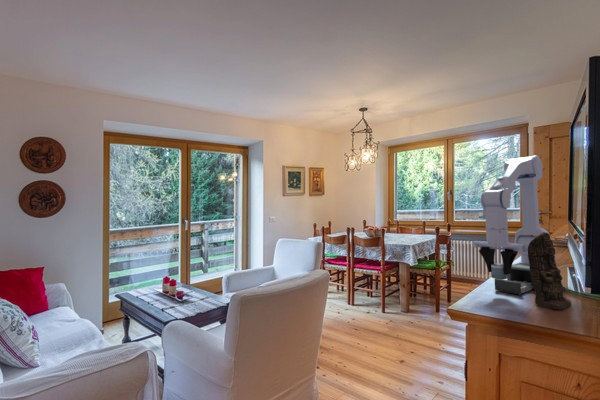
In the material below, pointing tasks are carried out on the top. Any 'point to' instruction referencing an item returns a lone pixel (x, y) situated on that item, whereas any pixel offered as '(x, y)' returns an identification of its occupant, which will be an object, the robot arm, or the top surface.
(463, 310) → the top surface
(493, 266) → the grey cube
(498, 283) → the tray
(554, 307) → the statue
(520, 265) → the player housing
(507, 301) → the top surface
